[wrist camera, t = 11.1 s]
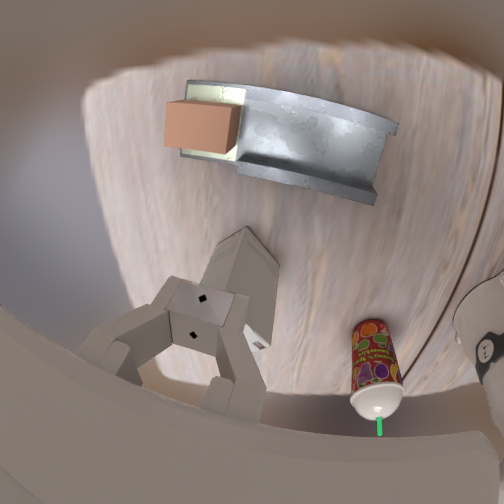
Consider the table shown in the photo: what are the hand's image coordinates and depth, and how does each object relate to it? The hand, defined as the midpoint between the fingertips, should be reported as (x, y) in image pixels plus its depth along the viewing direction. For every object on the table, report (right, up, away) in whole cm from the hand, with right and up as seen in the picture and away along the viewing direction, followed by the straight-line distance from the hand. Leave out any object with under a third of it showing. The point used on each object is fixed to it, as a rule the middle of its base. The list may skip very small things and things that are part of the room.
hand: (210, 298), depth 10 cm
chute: (+5, +16, +20) cm, 26 cm away
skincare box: (+1, +1, +30) cm, 30 cm away
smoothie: (+22, -12, +34) cm, 43 cm away
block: (-3, +17, +20) cm, 27 cm away
